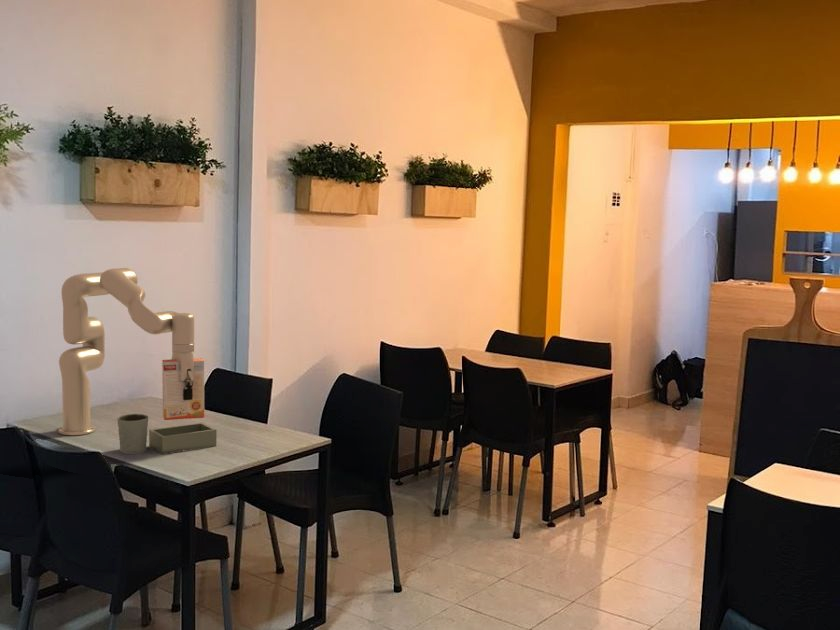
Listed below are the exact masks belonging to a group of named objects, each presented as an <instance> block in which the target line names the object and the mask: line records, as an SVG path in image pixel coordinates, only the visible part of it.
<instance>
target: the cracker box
mask: <svg viewBox="0 0 840 630" xmlns="http://www.w3.org/2000/svg"><path fill="white" fill-rule="evenodd" d="M193 359H194V383H193V398H192V400H183V389H184V384H183V381H182V382H180V381H178V362H177V361H175V360H173V359H172V358H171V359H162V360H161V361H162V362H161V366H162V368H161V369H162V375H161V376H162V417H163V420H164V421H173V420H185V419H186V420H187V419H188V420H189V419H204V418H205V360H204V359H203V358H200V357H199V358H193ZM185 380H189V378H187V379H185ZM187 383H188V382H186V385H187Z"/></svg>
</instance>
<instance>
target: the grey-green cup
mask: <svg viewBox="0 0 840 630" xmlns="http://www.w3.org/2000/svg"><path fill="white" fill-rule="evenodd" d="M116 419H117V426H118V435H119V436H118V437H119V451H120V453H121V454H126V455H136V454H137V453H138V454H141V453H145V452H146V451H147V441H148V440H147V439H148V425H149V424H148V423H149V416H148V415H146V414H142V413H128V414H123V415H119V416H118V417H117V418H116Z"/></svg>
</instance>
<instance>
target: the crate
mask: <svg viewBox="0 0 840 630" xmlns="http://www.w3.org/2000/svg"><path fill="white" fill-rule="evenodd" d="M148 431H149V434H148V435H149V436H148V441H149V443H148V444H149V445H148V446H149V447H150V448H151V449H153V450H155V451H157V452H158V453H160V454H161V455H165V453H167V454H172V453H171V452H174V453H178V452H177V451H180V452H184V451H183V450H187V451H192V450H191V449H193V450H198V448H200V449H205V448H204V447H206V448H212V447H211V446H213V447H216V446H217V429H216V428H215V427H211V426H210V425H208V424H206V423H204V422H197V423H190V424H182V425H181V424H180V425H176V426H175V425H174V426H168V427H160V428H152V429H149V430H148Z"/></svg>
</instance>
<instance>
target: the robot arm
mask: <svg viewBox="0 0 840 630" xmlns="http://www.w3.org/2000/svg"><path fill="white" fill-rule="evenodd" d="M138 280H139V279H138V276H137V274H136V272H134V271H133V270H132V269H130V268H127V267H123V268H122V267H121V268H119V267H118V268H110V269H106V270H105V271H103V272H93V273H92V272H89V273H80V274H79V273H78V274H74V275H72V276H70V277H68V278H67V279H65V280H64V282H63V284H62V285H61V300H62V335H63V339H64V341H65V342H66V343H67V344H69V345H82V346H77V347H73V348H69V349H66V350H65V351H62V353H61V354H60V356H59V359H58V365H59V370H60V375H61V387H62V390H61V391H62V426H61V427H59V429H58V431H57V432H58V433H59V434H60V435H64V436H82V435H88V434H91V433H93V432H95V430H96V427H95V426H93V425H91V384H90V380H89V377H88V376H87V373H86V372H89V371H94V370H96V369H100V368H101V366H102V365H103V364H104V362H105V355H106V354H105V349H106V348H105V343H106V342H105V339H106V337H105V333H106V332H105V327H104V325H103V323H102V321H101V320H100V319H99V318H97V317H95V316H89V307H88V304H87V301H86V300H85V298H88V297H95V296H96V297H97V296H98V297H100V296H105V295H111V296H112V297H113V298H114V299H116V300H117V301H118V302H120V303H121V305H123V306H124V307H126V308H127V311H128V314H129V317H130V318H131V320H132V322H133V323H134V324H135V325H137V326H138V327H140V329H142V330H143V331H144V332H146V333H147V334H150V335H160V334H165V333H166V334H167V333H171V335H172V336H171V342H172V343H171V351H172V353H171V354H172V355H171V359H173V360H175V361H177V362H178V381H180V382H182V381H183V384H184V389H183V400H192V398H193V383H194V359H195V358H194V353H195V316H194V314H192V313H188V312H187V313H186V312H177V311H173V310H172V311H171V310H167V311H158V312H157V311H156V312H154V311H152V310H151V309H149V308H148V307H147V306H146V305H145V304H144V303H143V302H144V300H145V298H146V291H145V290H144V288H142V287H141V286H139V285H138ZM187 378H189V380H185V379H187ZM186 382H188V383H187V385H186Z"/></svg>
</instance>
